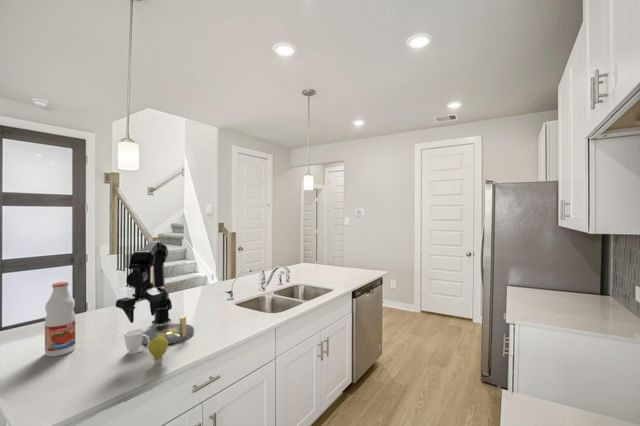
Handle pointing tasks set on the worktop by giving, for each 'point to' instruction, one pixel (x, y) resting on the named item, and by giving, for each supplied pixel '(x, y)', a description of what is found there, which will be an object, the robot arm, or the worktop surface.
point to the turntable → (170, 332)
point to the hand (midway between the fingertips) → (142, 319)
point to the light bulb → (158, 349)
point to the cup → (134, 340)
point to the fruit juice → (59, 321)
